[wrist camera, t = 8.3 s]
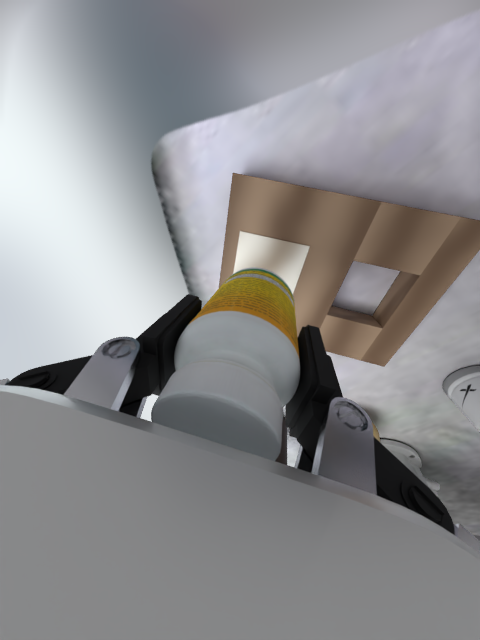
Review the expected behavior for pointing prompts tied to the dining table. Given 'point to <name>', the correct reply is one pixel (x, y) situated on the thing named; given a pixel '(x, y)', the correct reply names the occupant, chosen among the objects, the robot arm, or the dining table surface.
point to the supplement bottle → (236, 366)
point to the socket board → (346, 257)
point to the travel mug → (465, 392)
